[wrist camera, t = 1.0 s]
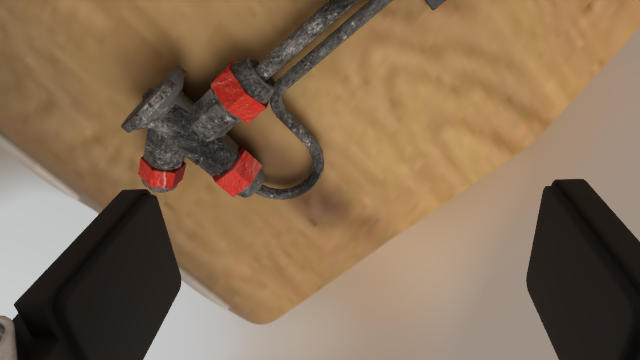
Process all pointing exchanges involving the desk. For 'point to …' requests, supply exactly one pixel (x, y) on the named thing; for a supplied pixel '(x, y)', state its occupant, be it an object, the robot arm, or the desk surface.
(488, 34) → the desk surface
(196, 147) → the valve
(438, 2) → the switch box
